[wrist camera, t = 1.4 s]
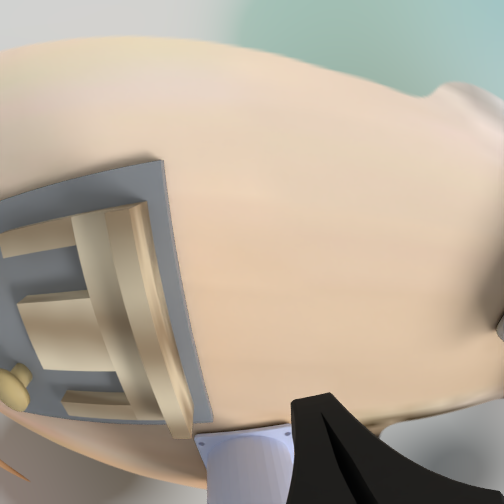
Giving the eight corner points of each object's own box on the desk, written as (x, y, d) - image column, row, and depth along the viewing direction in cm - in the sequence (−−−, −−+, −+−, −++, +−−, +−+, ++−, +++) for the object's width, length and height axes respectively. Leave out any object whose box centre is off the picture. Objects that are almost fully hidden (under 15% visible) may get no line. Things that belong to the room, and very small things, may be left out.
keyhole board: (213, 414, 20) (213, 452, 16) (23, 406, 19) (7, 430, 15) (163, 160, 15) (146, 158, 11) (-47, 219, 14) (-78, 230, 10)
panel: (194, 405, 19) (191, 438, 16) (74, 404, 18) (61, 431, 15) (147, 200, 15) (129, 209, 12) (10, 229, 14) (-21, 241, 11)
